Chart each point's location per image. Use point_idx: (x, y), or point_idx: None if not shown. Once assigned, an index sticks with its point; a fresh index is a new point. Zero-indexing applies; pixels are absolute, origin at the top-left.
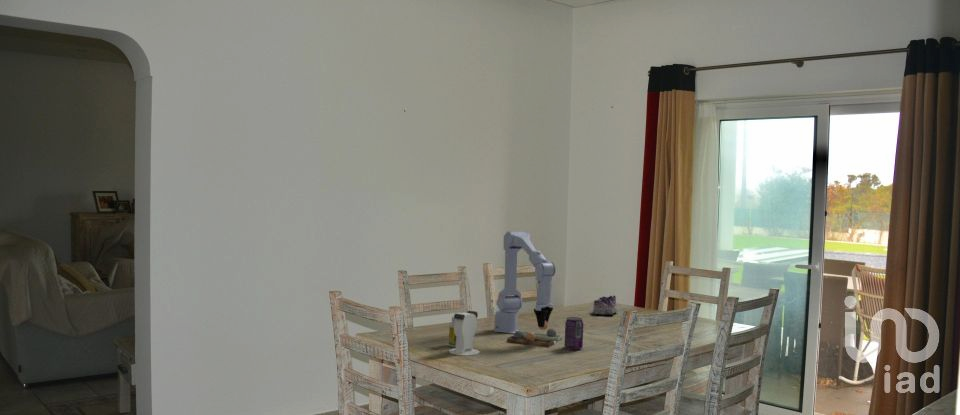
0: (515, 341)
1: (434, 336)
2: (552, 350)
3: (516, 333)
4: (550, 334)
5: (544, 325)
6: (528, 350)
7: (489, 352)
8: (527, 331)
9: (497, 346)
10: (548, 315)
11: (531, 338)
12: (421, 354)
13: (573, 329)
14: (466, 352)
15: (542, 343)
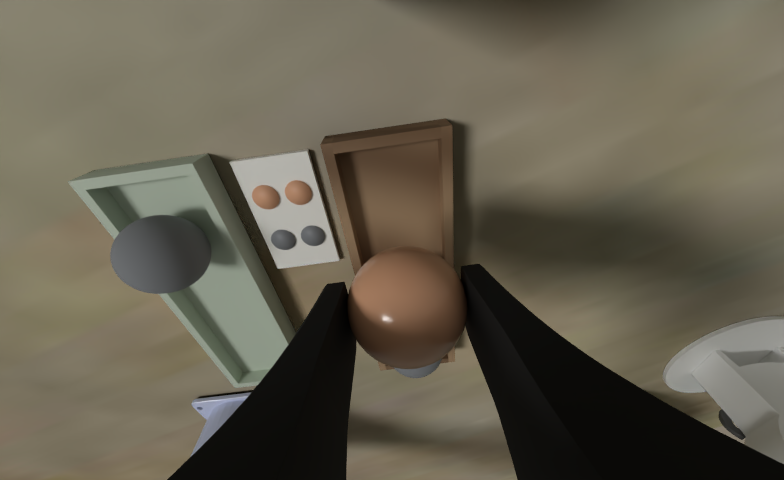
0: None
1: (501, 468)
2: (555, 31)
3: (440, 361)
4: (202, 244)
5: (454, 273)
6: (619, 187)
7: (719, 302)
8: (224, 370)
9: (570, 330)
10: (312, 395)
11: None
12: None
13: None
14: (756, 348)
15: (451, 182)
